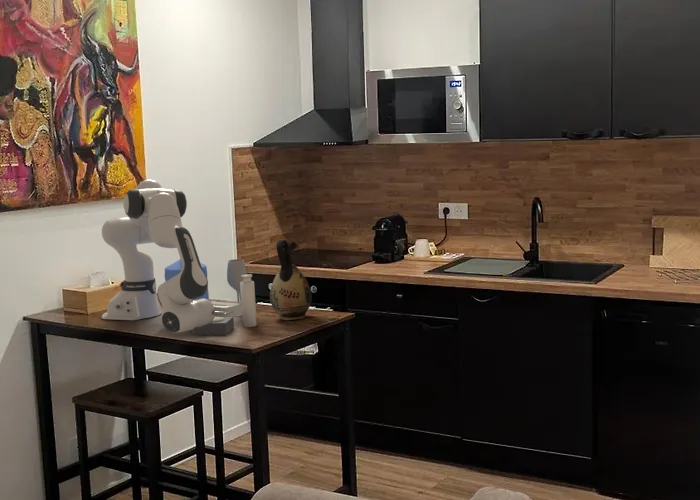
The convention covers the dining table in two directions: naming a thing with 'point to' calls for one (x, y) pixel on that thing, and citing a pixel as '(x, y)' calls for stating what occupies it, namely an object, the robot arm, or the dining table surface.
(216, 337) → the dining table surface
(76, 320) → the dining table surface
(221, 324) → the plinth
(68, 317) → the dining table surface
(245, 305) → the vase
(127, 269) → the robot arm
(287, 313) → the ceramic jug
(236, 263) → the wineglass
